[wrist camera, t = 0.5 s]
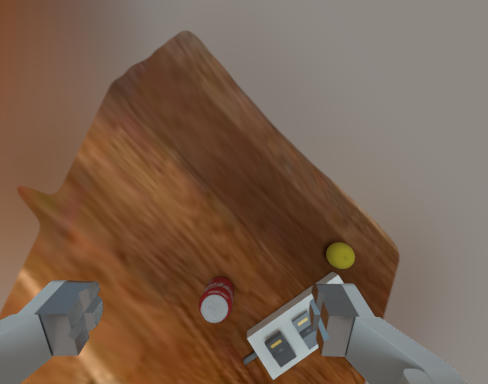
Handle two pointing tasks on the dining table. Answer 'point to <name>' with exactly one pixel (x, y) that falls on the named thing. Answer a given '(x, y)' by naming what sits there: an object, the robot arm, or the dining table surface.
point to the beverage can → (217, 300)
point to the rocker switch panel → (284, 330)
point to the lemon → (340, 255)
